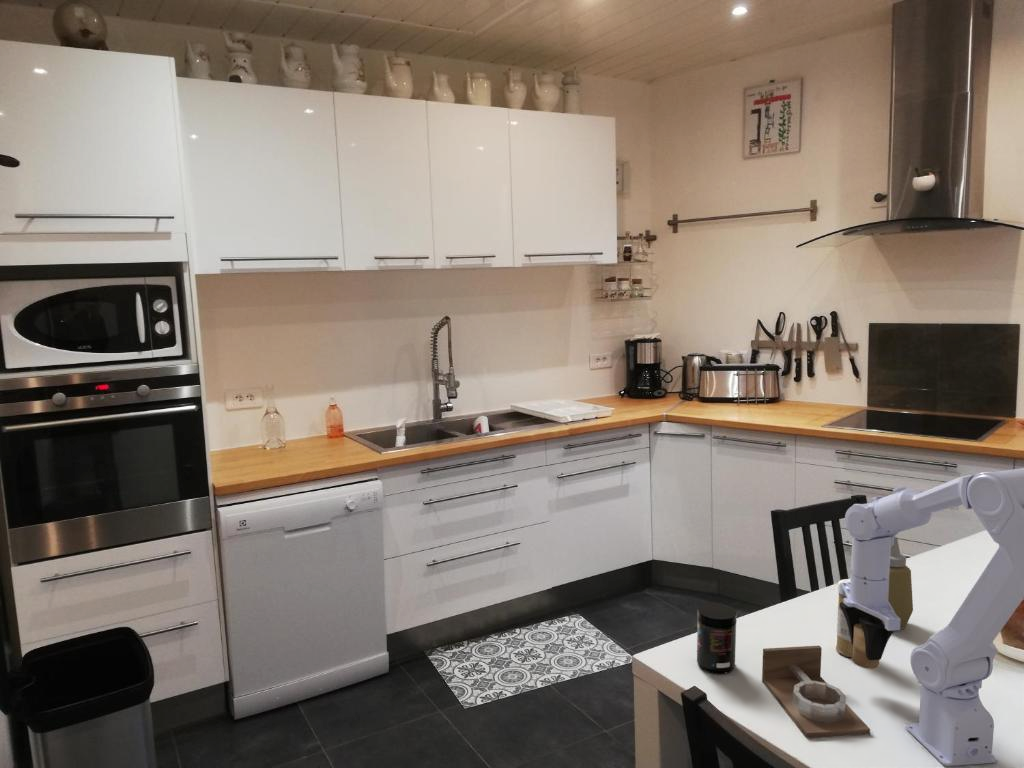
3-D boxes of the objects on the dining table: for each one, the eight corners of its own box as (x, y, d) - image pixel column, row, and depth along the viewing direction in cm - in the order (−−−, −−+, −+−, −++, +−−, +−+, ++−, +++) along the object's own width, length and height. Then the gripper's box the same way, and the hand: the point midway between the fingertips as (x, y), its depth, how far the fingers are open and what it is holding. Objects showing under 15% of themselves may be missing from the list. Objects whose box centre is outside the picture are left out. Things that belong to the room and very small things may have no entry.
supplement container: (722, 654, 135) (723, 600, 134) (742, 672, 129) (744, 616, 128) (689, 659, 134) (690, 605, 132) (708, 678, 127) (709, 621, 126)
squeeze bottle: (921, 628, 144) (927, 540, 142) (891, 636, 141) (896, 547, 139) (887, 612, 151) (891, 528, 149) (857, 619, 149) (861, 533, 146)
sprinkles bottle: (867, 653, 135) (871, 584, 133) (853, 661, 132) (856, 590, 130) (844, 644, 138) (847, 576, 137) (830, 650, 136) (833, 581, 134)
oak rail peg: (884, 667, 121) (885, 633, 120) (860, 669, 120) (862, 634, 120) (870, 655, 125) (872, 622, 124) (847, 657, 124) (849, 623, 123)
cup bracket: (869, 733, 111) (871, 696, 110) (806, 738, 110) (807, 700, 109) (817, 678, 127) (819, 645, 126) (761, 681, 126) (763, 648, 125)
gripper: (824, 559, 127) (821, 633, 129) (871, 593, 113) (867, 675, 115) (863, 557, 128) (859, 630, 130) (915, 591, 114) (910, 673, 115)
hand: (866, 652), depth 122 cm, fingers closed on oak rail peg, 4 cm apart
